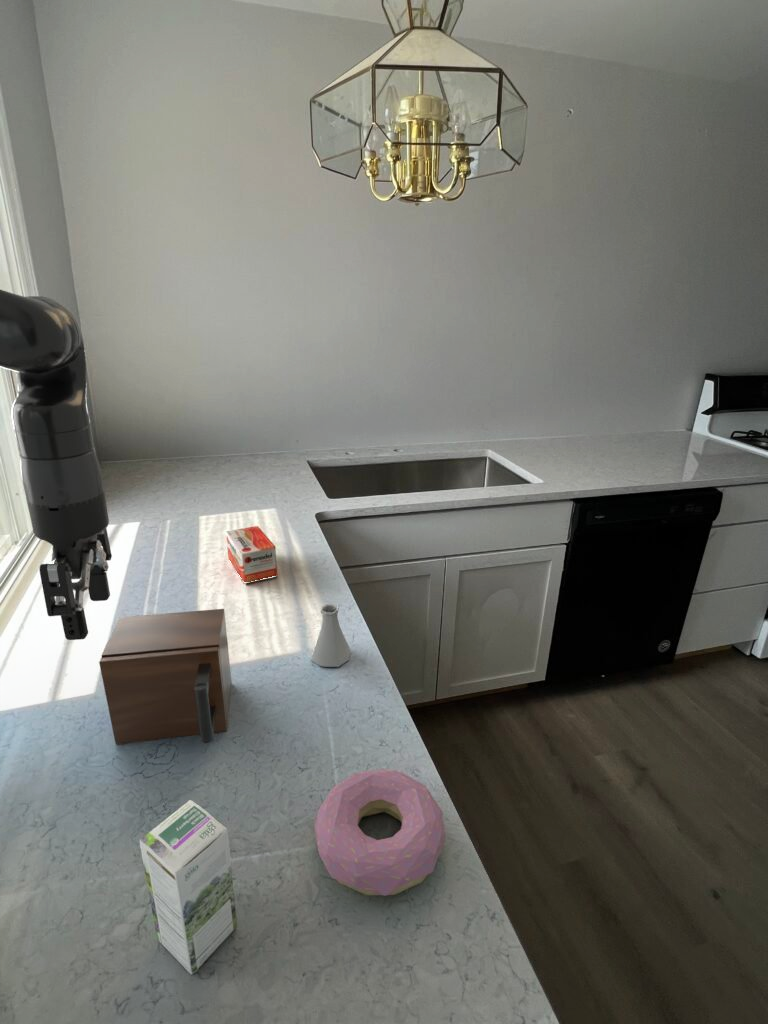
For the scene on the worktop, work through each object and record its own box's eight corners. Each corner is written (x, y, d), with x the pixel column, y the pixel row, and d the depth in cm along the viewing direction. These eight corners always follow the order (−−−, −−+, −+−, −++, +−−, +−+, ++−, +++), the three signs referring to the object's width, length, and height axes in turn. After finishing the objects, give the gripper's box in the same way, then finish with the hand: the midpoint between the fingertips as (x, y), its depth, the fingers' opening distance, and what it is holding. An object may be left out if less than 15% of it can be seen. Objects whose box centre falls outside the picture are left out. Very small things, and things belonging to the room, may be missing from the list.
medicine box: (227, 560, 138) (224, 530, 135) (259, 553, 141) (257, 524, 138) (244, 586, 125) (241, 554, 122) (279, 578, 129) (277, 547, 126)
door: (223, 760, 78) (214, 676, 73) (104, 776, 75) (85, 689, 70) (227, 726, 84) (218, 646, 79) (117, 739, 81) (100, 657, 76)
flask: (340, 672, 97) (340, 622, 93) (303, 663, 99) (301, 614, 96) (356, 649, 103) (356, 602, 100) (321, 641, 106) (320, 595, 102)
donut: (470, 857, 65) (473, 826, 63) (361, 937, 57) (361, 903, 55) (392, 771, 77) (393, 742, 75) (292, 826, 68) (290, 796, 67)
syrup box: (203, 895, 60) (188, 794, 55) (240, 928, 57) (228, 825, 52) (156, 941, 56) (135, 836, 51) (193, 980, 53) (175, 873, 48)
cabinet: (227, 726, 84) (218, 644, 79) (117, 739, 81) (101, 655, 76) (231, 684, 93) (224, 608, 88) (133, 694, 91) (119, 617, 85)
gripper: (53, 472, 67) (76, 590, 73) (-3, 516, 54) (30, 655, 60) (119, 471, 68) (137, 587, 74) (79, 513, 55) (105, 650, 61)
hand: (89, 617), depth 67 cm, fingers open, 8 cm apart
